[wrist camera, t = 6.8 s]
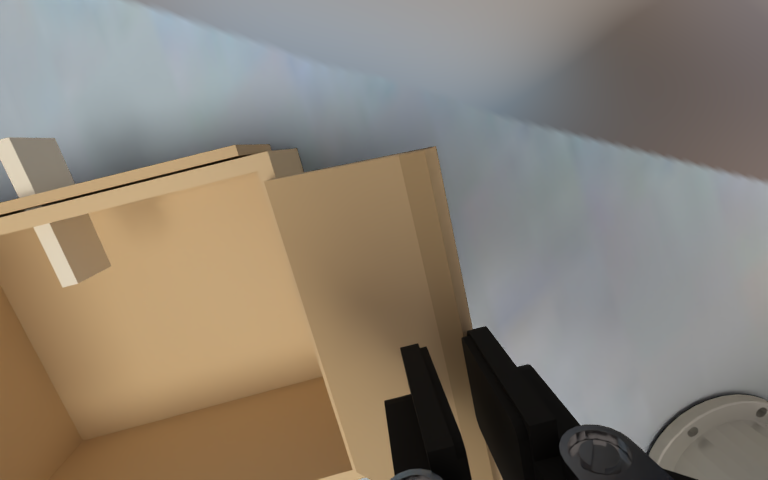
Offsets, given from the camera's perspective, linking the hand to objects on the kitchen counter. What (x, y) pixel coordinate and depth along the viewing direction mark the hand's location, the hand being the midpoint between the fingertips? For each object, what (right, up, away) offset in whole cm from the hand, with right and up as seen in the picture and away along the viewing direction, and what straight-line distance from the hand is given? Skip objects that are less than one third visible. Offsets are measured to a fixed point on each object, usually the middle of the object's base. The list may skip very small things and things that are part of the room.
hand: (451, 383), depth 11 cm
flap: (-2, 0, +2) cm, 3 cm away
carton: (-15, +1, +13) cm, 20 cm away
